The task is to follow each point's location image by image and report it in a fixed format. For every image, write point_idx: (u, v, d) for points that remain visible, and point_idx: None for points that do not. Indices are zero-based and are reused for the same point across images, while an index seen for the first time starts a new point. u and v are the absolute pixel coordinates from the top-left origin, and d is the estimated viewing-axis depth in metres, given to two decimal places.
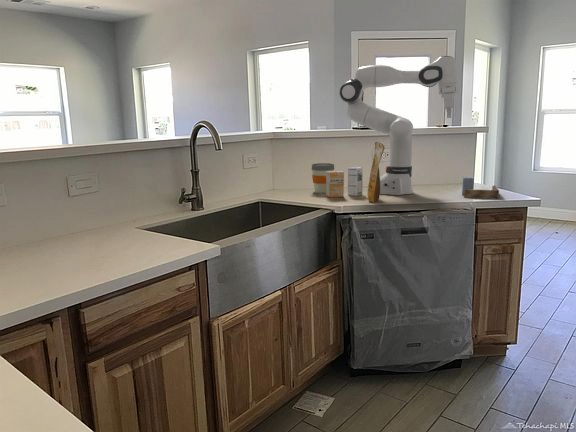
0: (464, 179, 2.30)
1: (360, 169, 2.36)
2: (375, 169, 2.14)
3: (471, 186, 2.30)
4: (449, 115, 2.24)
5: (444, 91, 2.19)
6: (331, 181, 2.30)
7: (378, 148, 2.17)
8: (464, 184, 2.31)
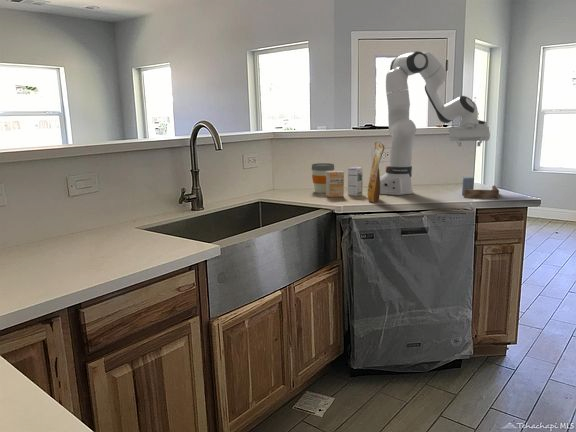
0: (464, 179, 2.30)
1: (360, 169, 2.36)
2: (375, 169, 2.14)
3: (471, 186, 2.30)
4: (480, 143, 2.39)
5: (486, 124, 2.42)
6: (331, 181, 2.30)
7: (378, 148, 2.17)
8: (464, 184, 2.31)
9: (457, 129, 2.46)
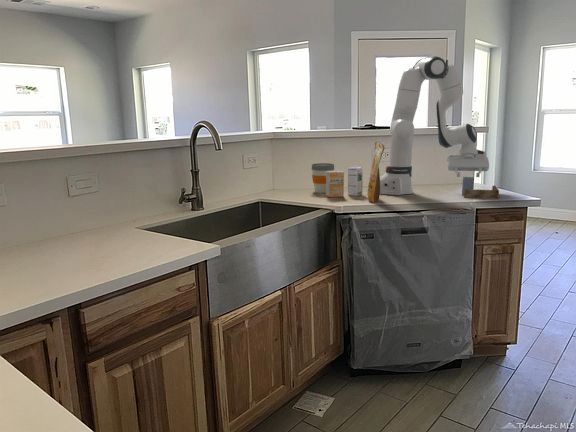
0: (464, 179, 2.30)
1: (360, 169, 2.36)
2: (375, 169, 2.14)
3: (471, 186, 2.30)
4: None
5: None
6: (331, 181, 2.30)
7: (378, 148, 2.17)
8: (464, 184, 2.31)
9: (456, 159, 2.42)
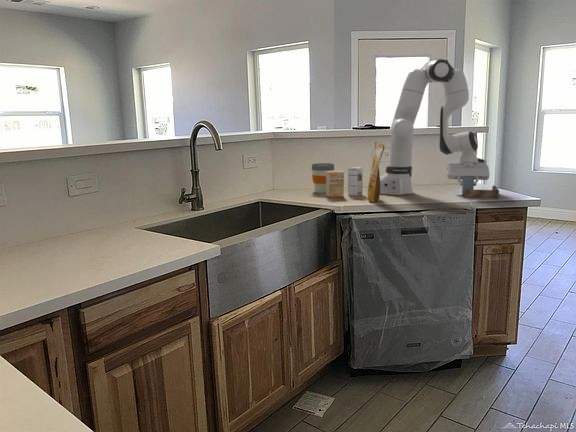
0: (464, 179, 2.30)
1: (360, 169, 2.36)
2: (375, 169, 2.14)
3: (471, 186, 2.30)
4: None
5: (486, 163, 2.34)
6: (331, 181, 2.30)
7: (378, 148, 2.17)
8: (464, 184, 2.31)
9: (456, 167, 2.38)
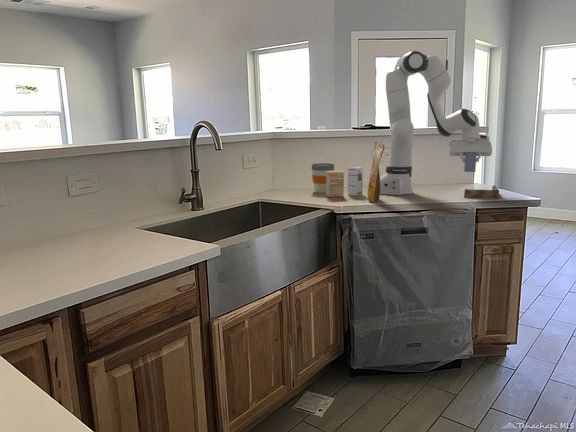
0: (466, 155, 2.28)
1: (360, 169, 2.36)
2: (375, 169, 2.14)
3: (473, 162, 2.27)
4: (478, 159, 2.29)
5: None
6: (331, 181, 2.30)
7: (378, 148, 2.17)
8: (466, 160, 2.28)
9: (458, 143, 2.35)
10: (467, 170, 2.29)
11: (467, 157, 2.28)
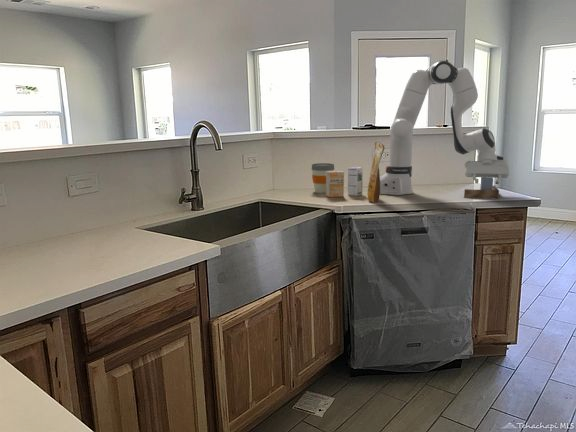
0: (483, 180, 2.24)
1: (360, 169, 2.36)
2: (375, 169, 2.14)
3: (490, 187, 2.24)
4: None
5: (505, 160, 2.28)
6: (331, 181, 2.30)
7: (378, 148, 2.17)
8: (483, 185, 2.25)
9: (474, 164, 2.31)
10: None
11: (483, 182, 2.25)
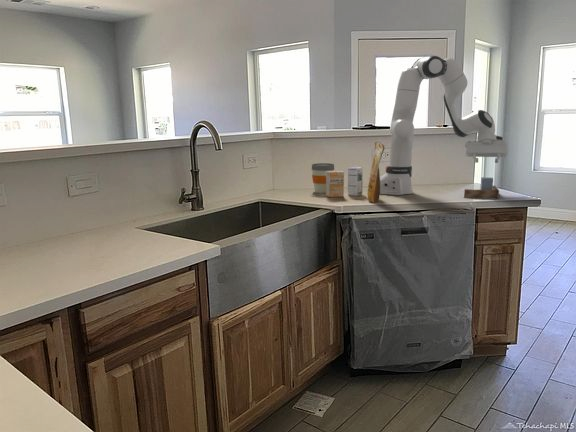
0: (483, 180, 2.24)
1: (360, 169, 2.36)
2: (375, 169, 2.14)
3: (490, 187, 2.24)
4: None
5: (504, 140, 2.35)
6: (331, 181, 2.30)
7: (378, 148, 2.17)
8: (483, 185, 2.25)
9: (474, 144, 2.38)
10: None
11: (483, 182, 2.25)
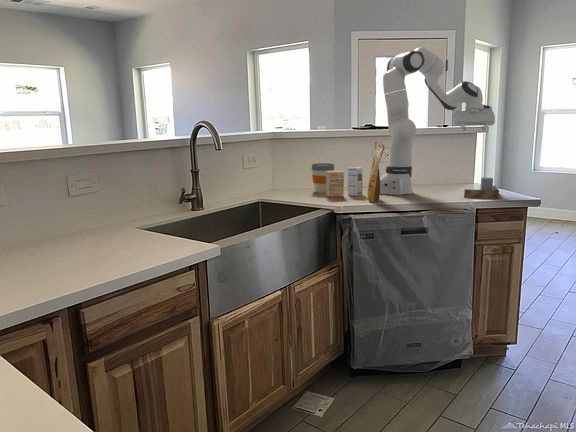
0: (483, 180, 2.24)
1: (360, 169, 2.36)
2: (375, 169, 2.14)
3: (490, 187, 2.24)
4: None
5: (491, 109, 2.41)
6: (331, 181, 2.30)
7: (378, 148, 2.17)
8: (483, 185, 2.25)
9: (462, 114, 2.44)
10: None
11: (483, 182, 2.25)
